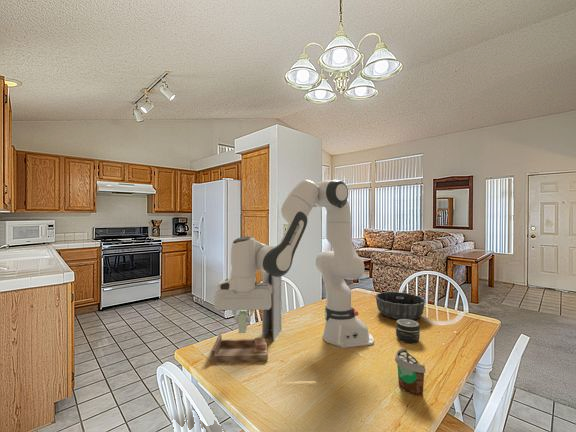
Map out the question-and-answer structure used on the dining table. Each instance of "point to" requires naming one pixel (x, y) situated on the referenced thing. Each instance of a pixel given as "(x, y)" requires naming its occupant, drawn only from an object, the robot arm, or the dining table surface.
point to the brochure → (272, 307)
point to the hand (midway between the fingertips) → (243, 321)
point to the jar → (407, 331)
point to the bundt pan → (400, 305)
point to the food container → (410, 373)
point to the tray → (236, 351)
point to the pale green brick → (242, 321)
